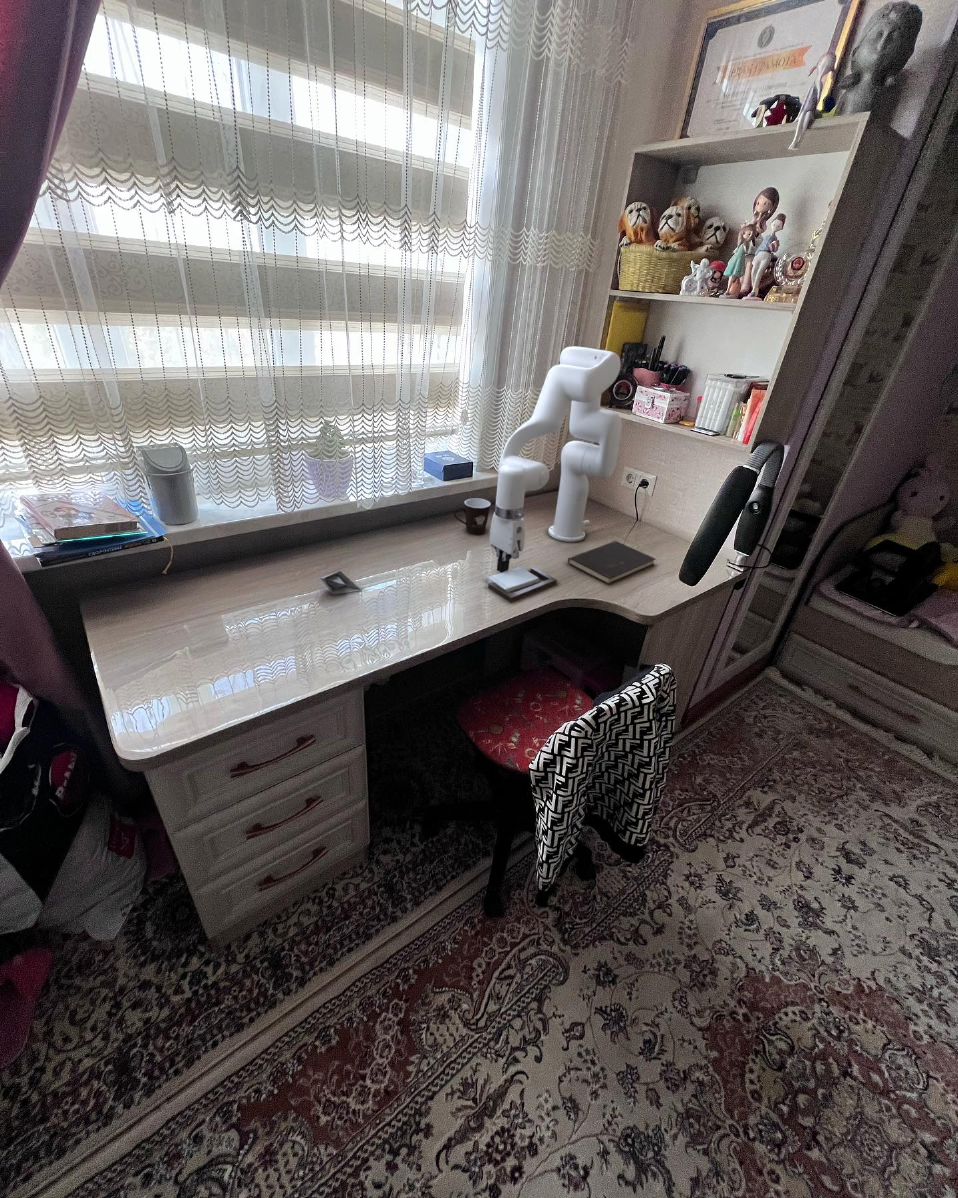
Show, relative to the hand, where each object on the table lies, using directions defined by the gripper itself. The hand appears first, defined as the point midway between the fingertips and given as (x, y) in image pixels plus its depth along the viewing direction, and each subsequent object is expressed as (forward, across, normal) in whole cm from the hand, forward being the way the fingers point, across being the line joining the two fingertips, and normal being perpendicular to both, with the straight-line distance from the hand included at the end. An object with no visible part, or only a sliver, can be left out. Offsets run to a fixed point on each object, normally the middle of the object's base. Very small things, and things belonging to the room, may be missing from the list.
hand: (502, 570), depth 154 cm
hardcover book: (+1, -14, -33) cm, 36 cm away
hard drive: (+2, -5, +1) cm, 5 cm away
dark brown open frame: (+1, -8, 0) cm, 8 cm away
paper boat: (+2, +16, +44) cm, 47 cm away
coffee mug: (+1, +29, -12) cm, 31 cm away
